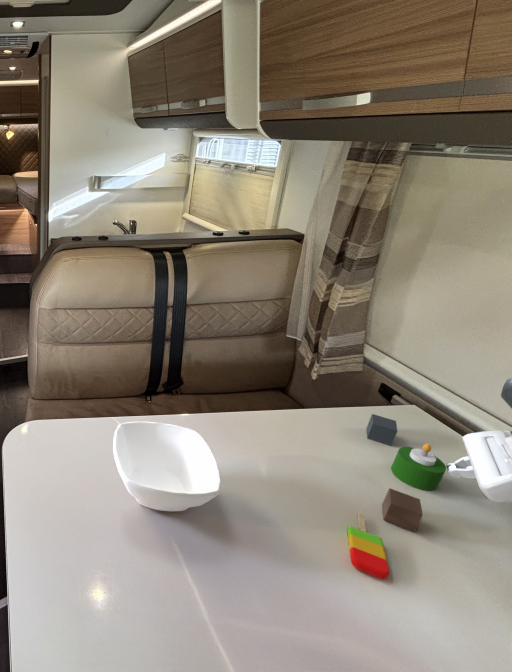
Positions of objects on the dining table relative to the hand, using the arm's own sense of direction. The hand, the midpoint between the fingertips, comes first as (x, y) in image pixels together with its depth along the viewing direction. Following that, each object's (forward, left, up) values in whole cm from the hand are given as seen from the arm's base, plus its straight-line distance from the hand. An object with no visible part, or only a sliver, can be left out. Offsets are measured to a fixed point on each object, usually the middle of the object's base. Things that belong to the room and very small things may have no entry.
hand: (448, 471), depth 98 cm
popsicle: (+15, +29, -5) cm, 33 cm away
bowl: (+53, +41, -5) cm, 67 cm away
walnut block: (+9, +17, -5) cm, 20 cm away
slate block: (+11, -13, -5) cm, 18 cm away
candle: (+5, 0, -5) cm, 7 cm away
